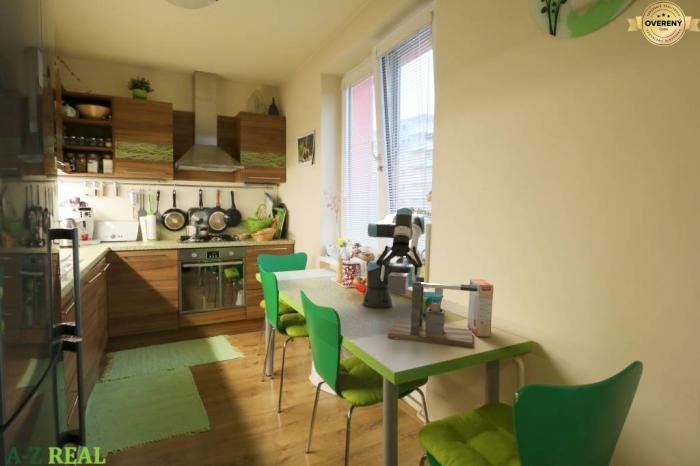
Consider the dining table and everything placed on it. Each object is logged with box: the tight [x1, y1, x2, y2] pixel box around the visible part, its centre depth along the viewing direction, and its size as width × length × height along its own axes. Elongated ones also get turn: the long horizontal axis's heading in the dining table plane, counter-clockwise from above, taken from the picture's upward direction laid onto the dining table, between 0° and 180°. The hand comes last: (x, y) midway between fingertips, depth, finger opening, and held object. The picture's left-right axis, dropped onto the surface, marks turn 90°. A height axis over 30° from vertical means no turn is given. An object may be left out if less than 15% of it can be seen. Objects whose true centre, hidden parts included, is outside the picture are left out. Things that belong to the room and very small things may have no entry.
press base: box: [387, 276, 473, 349], centre depth 152 cm, size 16×31×22 cm, turn 74°
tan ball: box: [430, 303, 442, 312], centre depth 152 cm, size 4×4×4 cm
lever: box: [387, 272, 477, 295], centre depth 152 cm, size 9×34×7 cm, turn 74°
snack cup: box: [423, 291, 444, 316], centre depth 184 cm, size 16×10×10 cm
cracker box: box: [467, 278, 494, 338], centre depth 159 cm, size 14×6×21 cm, turn 177°
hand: (397, 280), depth 168 cm, fingers open, 13 cm apart
